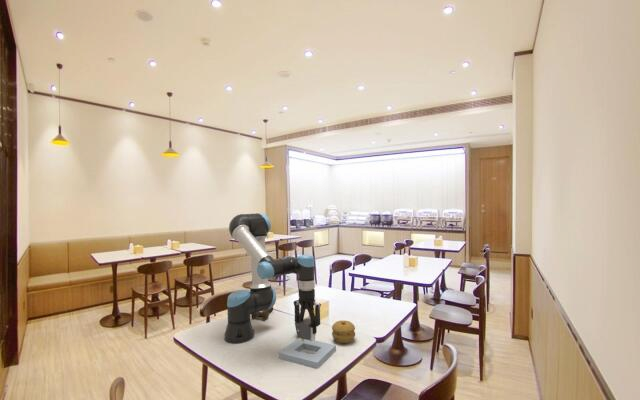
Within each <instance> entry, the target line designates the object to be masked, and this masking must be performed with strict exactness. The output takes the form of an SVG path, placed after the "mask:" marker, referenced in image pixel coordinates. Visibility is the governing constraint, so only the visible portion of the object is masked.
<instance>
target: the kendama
mask: <svg viewBox="0 0 640 400" xmlns="http://www.w3.org/2000/svg"><path fill="white" fill-rule="evenodd" d="M273 311H274V306H273V307H272V308H270V309H268V310H265V311H260V312H257V313H254V314H251V315H250V318H251V319H252V320H256V319H257V318H260V319H262V320H264V321H267V320H268V319H269V315H270V313H272V312H273Z"/></svg>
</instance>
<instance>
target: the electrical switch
mask: <svg viewBox="0 0 640 400" xmlns="http://www.w3.org/2000/svg"><path fill="white" fill-rule="evenodd" d="M306 318H307V319H310V315H309V316H306V317H304V319H306ZM304 319H303V320H304ZM294 326H295V331H296V334H297V335H296V336H297V339H298V338H299V337H300V334H299V324H298V323H297V322H296V323H295V322H294Z"/></svg>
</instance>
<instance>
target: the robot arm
mask: <svg viewBox="0 0 640 400" xmlns="http://www.w3.org/2000/svg"><path fill="white" fill-rule="evenodd" d="M270 220H271V219H270V218H269V217H268V216H267V214H265V213H239V214H237V215H235V216H234V217H233V218H232V219H231V220H230V222H229V225H228V231H229V235H230V236H231V237H232V238H233V240H234V241H237V242H238V243H239V244H240V245H241V247H242V248H243V250H245V252H246V253H247V255H249V257H250V268H251V269H250V270H251V282H252V284H250V287H249V289H239V290H236V291H233V292H231V293H230V294H229V295H228V296H227V303H226V307H227V326H226V327H225V332H224V341H225V342H227V343H229V344H241V343H247V342H248V341H250V340H252V339H253V338H254V337H255V330H254V328H253V324H252V322H251V314H254V313H257V312H262V311H265V310H268V309H270V308H272V307H273V308H274V306H275V304H276V302H277V293H276V292H277V291H276V290H275V289H274V287H272V284H271V283H269V279H271V278H275V277H281V276H286V275H290V274H295V275H298V276H297V277H298V278H297V279H298V280H297V281H298V299H296V300H294V301H293V306H294V324H295V323H296V322H297V323H298V324H299V323H300V322H301V321H303V319H304V318H305V314H306V313H305V312H306V310H307V312H308V315H309V317H310V319H311V324H312V327H311V342H313V341H314V340H315V341H316V335H315V334H317V330H318V329H317V327H319V326H320V325H321V306H322V304H321V302H319V303H318V302H316V290H315V288H316V286H315V258H314V255H312V254H299V256H297V257H295V256H284V257H283V258H281V259H274V258H273V257H272V255H270V253H269V252H268V251H267V250H266V238H268V233H270V232H271V230H270V229H271V227H272V225H271V224H272V223H271V221H270ZM300 339H301V338H300ZM301 340H302V339H301Z"/></svg>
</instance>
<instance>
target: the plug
mask: <svg viewBox="0 0 640 400" xmlns="http://www.w3.org/2000/svg"><path fill="white" fill-rule="evenodd" d="M305 318H306V317H305ZM311 327H312V324H311V319H307V318H306V319H304V320H303V321H301V322H300V323H299V330H298V331H299V334H300V338H301V339H302V341H304V339H306V340H309V341H311ZM316 334H317V333H316ZM316 334H315V336H316Z"/></svg>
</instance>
